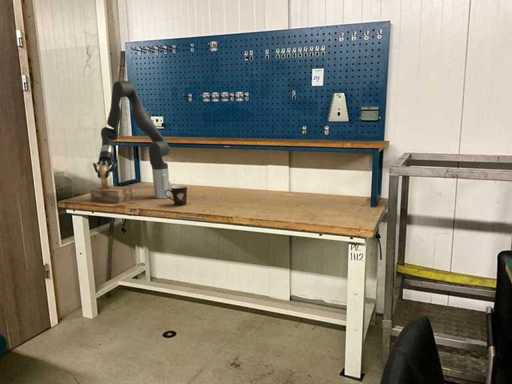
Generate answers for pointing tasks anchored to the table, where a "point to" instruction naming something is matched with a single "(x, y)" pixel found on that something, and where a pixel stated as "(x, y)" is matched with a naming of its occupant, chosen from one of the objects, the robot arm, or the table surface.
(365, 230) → the table surface
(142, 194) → the table surface
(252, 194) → the table surface
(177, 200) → the coffee mug
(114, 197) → the brown rectangular block
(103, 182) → the wooden key
